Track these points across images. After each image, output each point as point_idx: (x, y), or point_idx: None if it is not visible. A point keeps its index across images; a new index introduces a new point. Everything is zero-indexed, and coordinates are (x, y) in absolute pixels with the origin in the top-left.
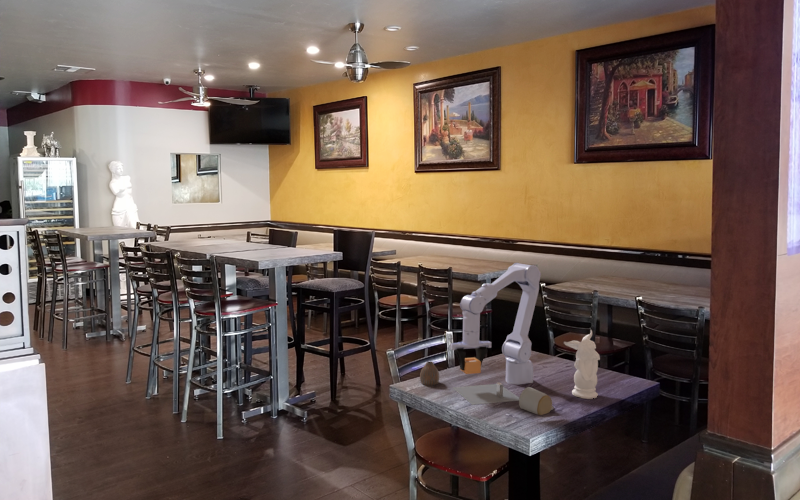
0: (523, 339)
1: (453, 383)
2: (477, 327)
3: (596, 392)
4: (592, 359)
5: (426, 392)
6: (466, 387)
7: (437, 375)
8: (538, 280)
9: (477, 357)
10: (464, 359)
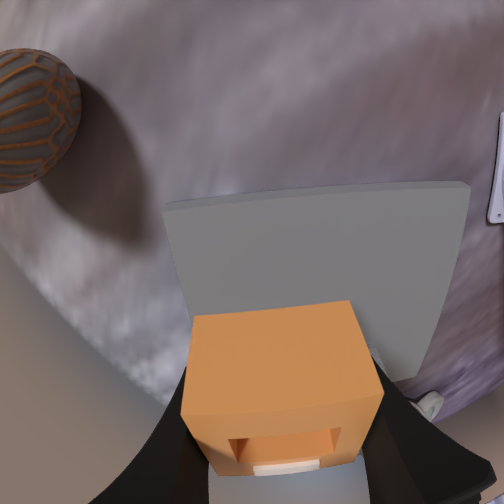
0: None
1: (212, 47)
2: None
3: None
4: None
5: (35, 213)
6: (258, 221)
7: (41, 167)
8: None
9: (378, 438)
10: (205, 488)
